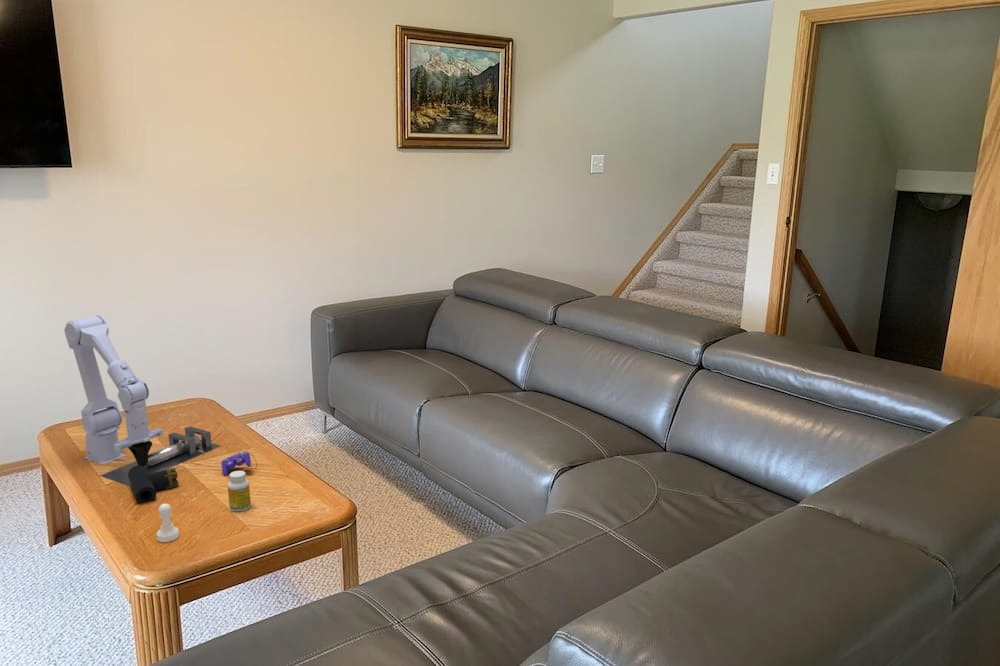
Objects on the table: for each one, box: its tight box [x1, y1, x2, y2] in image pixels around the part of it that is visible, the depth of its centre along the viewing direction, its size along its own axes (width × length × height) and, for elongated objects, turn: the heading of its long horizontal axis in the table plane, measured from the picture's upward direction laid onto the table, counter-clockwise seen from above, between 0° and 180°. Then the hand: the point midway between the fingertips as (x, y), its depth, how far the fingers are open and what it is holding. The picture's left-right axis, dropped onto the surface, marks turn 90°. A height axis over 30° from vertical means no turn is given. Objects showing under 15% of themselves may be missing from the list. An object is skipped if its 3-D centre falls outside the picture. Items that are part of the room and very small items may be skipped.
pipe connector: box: [128, 466, 179, 504], centre depth 208 cm, size 12×5×15 cm
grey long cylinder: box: [146, 435, 201, 467], centre depth 229 cm, size 18×4×4 cm, turn 150°
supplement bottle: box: [227, 470, 252, 512], centre depth 198 cm, size 5×5×10 cm
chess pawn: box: [156, 503, 180, 543], centre depth 183 cm, size 5×5×9 cm
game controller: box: [220, 451, 258, 480], centre depth 219 cm, size 10×8×10 cm
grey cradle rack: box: [99, 426, 222, 487], centre depth 227 cm, size 13×33×6 cm, turn 151°
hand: (142, 465), depth 221 cm, fingers closed
